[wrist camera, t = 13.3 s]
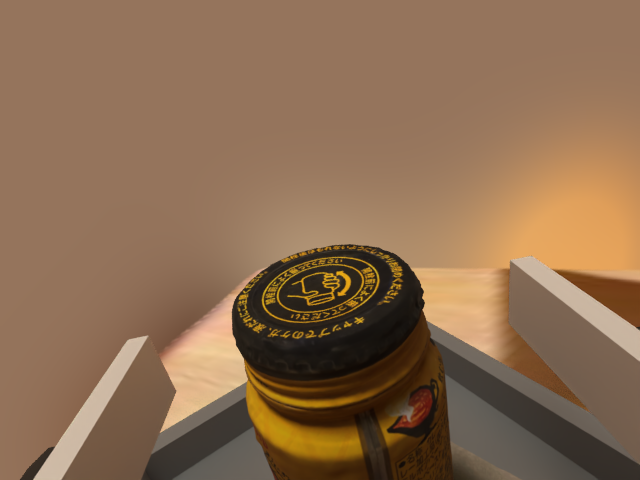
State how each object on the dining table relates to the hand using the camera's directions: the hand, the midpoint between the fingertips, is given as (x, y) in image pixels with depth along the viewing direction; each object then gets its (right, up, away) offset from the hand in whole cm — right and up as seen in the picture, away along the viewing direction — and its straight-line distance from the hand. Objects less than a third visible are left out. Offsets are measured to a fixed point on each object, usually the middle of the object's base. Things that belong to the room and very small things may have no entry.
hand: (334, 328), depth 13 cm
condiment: (+3, -8, +2) cm, 9 cm away
